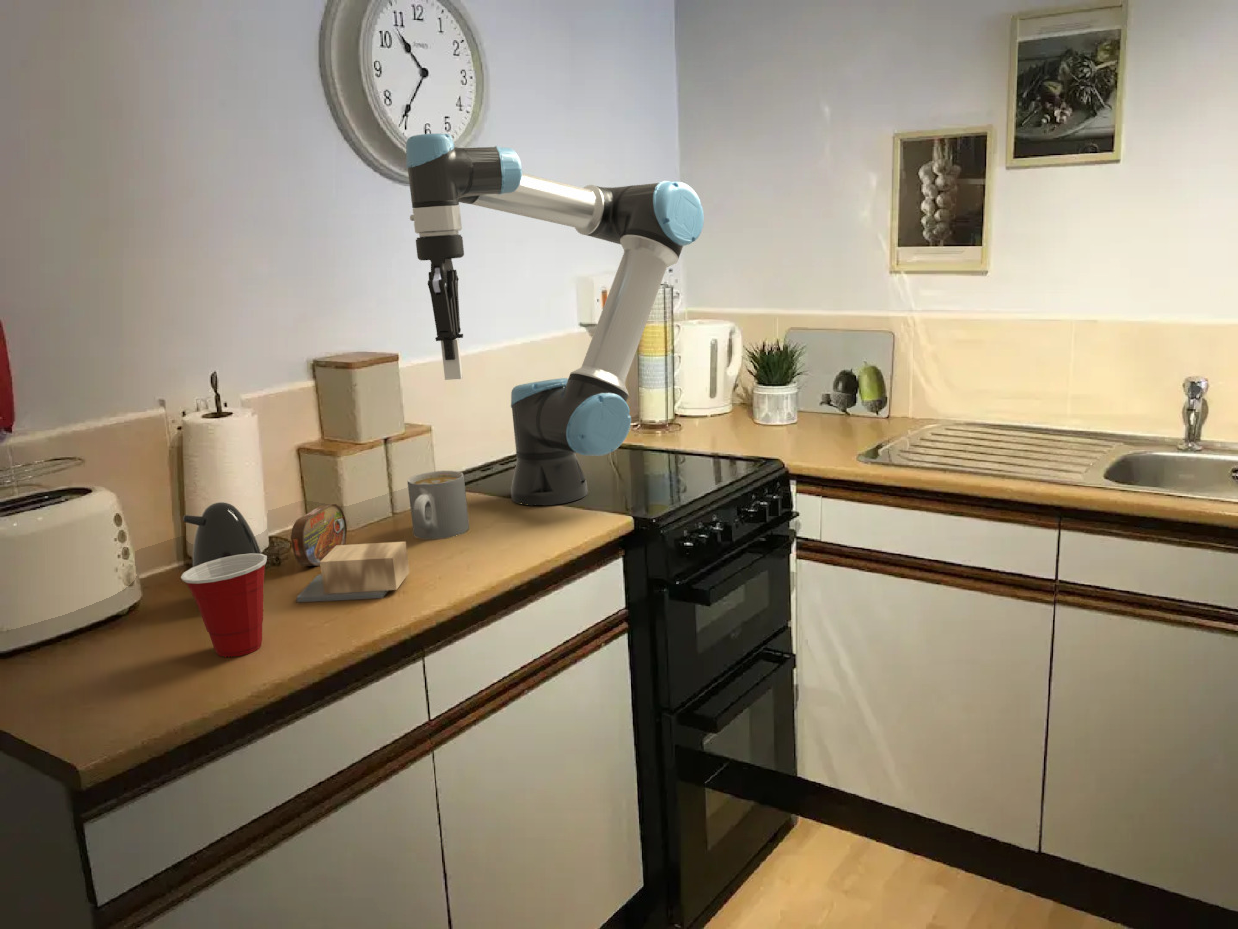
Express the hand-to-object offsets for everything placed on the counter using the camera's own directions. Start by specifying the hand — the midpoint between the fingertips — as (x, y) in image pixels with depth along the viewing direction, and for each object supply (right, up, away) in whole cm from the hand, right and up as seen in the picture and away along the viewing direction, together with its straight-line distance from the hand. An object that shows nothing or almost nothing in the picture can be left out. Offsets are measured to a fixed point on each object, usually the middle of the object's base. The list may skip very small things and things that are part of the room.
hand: (453, 378), depth 172 cm
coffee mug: (-5, -27, +12) cm, 30 cm away
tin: (-23, -30, +3) cm, 38 cm away
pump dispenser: (-31, -35, -15) cm, 49 cm away
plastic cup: (-23, -39, -34) cm, 57 cm away
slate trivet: (-14, -33, -14) cm, 39 cm away
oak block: (-6, -30, -15) cm, 34 cm away
